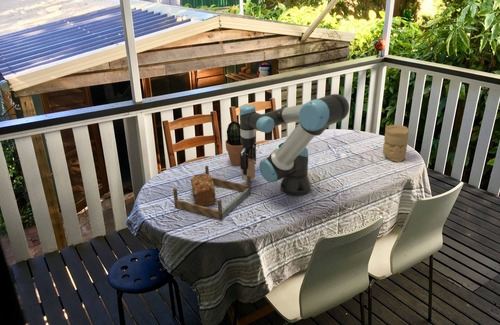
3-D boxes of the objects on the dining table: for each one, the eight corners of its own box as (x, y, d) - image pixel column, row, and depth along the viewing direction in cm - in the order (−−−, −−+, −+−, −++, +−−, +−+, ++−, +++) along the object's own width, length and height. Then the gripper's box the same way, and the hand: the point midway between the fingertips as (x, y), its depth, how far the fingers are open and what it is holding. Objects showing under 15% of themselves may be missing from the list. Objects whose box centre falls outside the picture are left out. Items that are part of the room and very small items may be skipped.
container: (407, 156, 261) (411, 127, 253) (401, 164, 251) (405, 134, 244) (386, 152, 267) (389, 123, 259) (379, 159, 257) (382, 130, 250)
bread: (216, 205, 215) (215, 186, 211) (194, 207, 214) (192, 189, 209) (212, 187, 232) (211, 170, 228) (191, 189, 230) (189, 172, 226)
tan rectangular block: (255, 177, 234) (254, 159, 230) (250, 181, 231) (250, 163, 226) (246, 175, 237) (246, 157, 232) (241, 179, 233) (241, 161, 228)
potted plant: (241, 169, 250) (240, 127, 239) (221, 164, 257) (219, 123, 246) (254, 160, 260) (253, 119, 250) (235, 155, 267) (233, 115, 256)
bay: (250, 193, 225) (250, 175, 221) (221, 220, 203) (219, 200, 198) (207, 182, 236) (206, 165, 232) (175, 207, 214) (173, 188, 210)
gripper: (249, 128, 232) (250, 169, 242) (232, 141, 218) (233, 183, 228) (262, 131, 229) (263, 172, 239) (245, 143, 215) (246, 186, 225)
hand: (248, 177), depth 233 cm, fingers closed on tan rectangular block, 5 cm apart
